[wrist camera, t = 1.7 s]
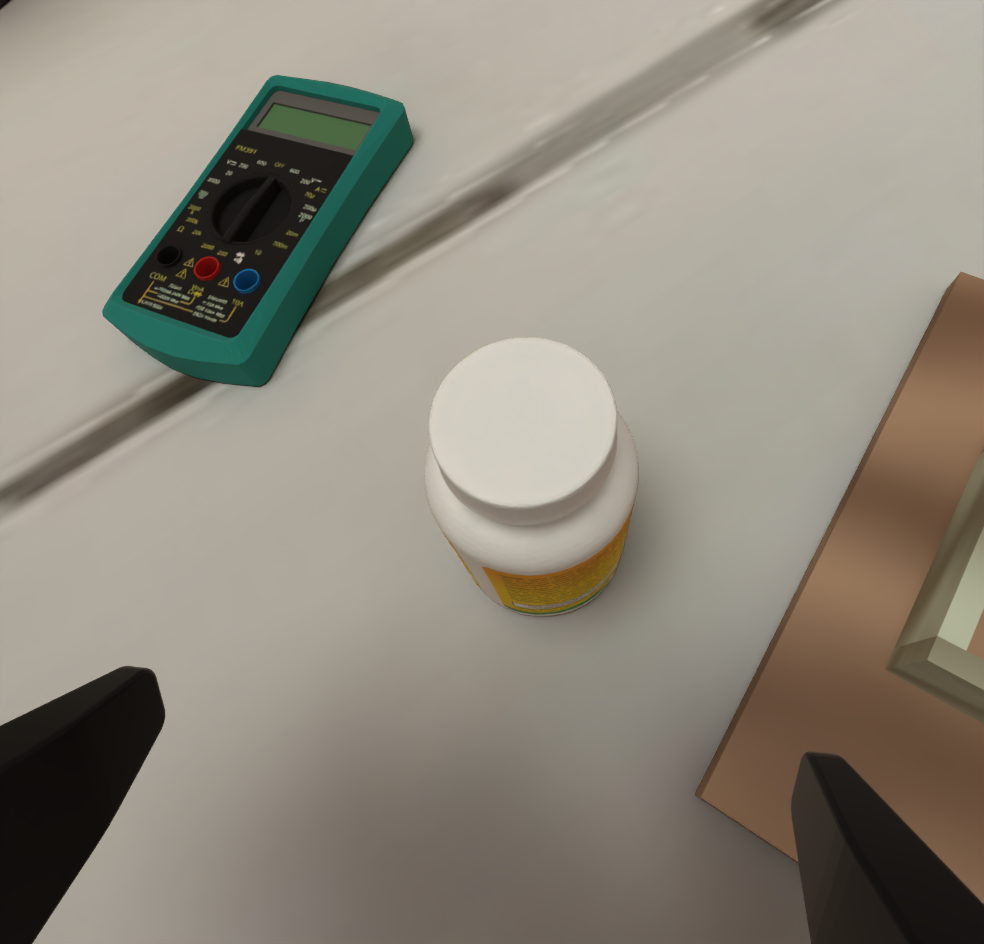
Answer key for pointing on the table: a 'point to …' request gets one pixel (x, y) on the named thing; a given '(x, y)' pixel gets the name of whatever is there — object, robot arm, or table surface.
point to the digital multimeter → (260, 230)
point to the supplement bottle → (531, 474)
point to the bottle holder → (887, 622)
